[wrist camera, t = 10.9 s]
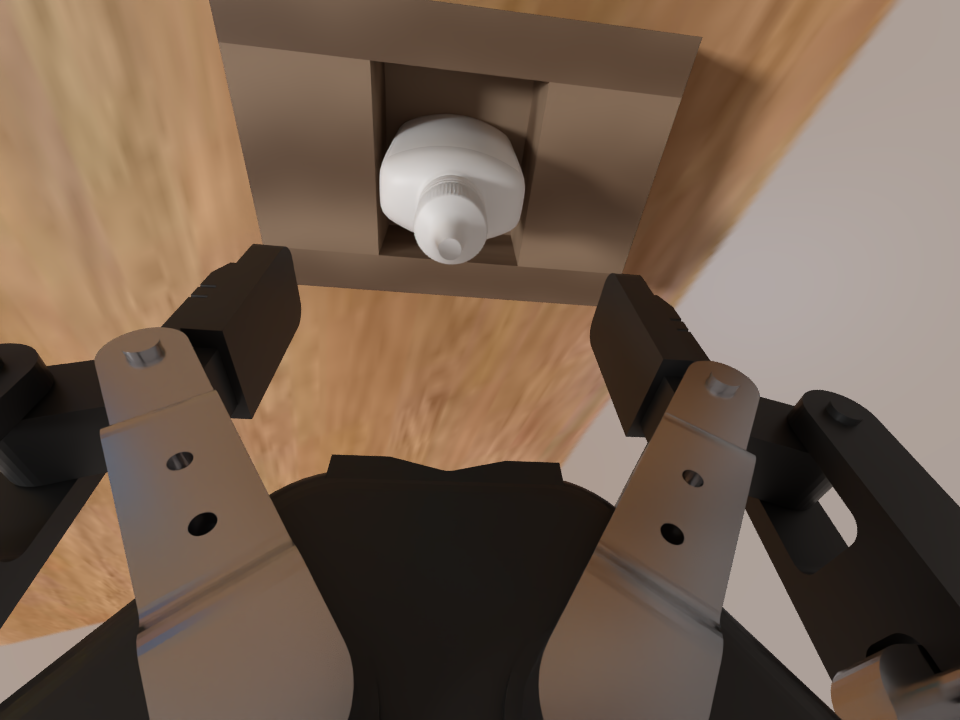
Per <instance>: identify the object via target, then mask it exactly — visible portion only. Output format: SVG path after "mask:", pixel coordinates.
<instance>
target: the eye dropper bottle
mask: <svg viewBox="0 0 960 720" xmlns="http://www.w3.org/2000/svg"><path fill="white" fill-rule="evenodd" d="M524 193H525V183H524V177H523V174H522V170H521V168H520V165H519V162H518V160H517V157H516V154H515V152H514V149H513V147H512V144H511V142H510V140H509V139H508V137H507V136H506V135H505V134H504V133H503V132H501V131H500V130H498V129H496V128H495V127H493V126H491V125H489V124H487V123H485V122H483V121H480V120H478V119H475V118H471V117H467V116H463V115H457V114H433V115H427V116H422V117H418V118H415V119H412V120H409V121H407V122H405V123H404V124H403V125H402V126H401V127H400V128H399V130H398V132H397V134H396V136H395V137H394V139H393V141H392V143H391V145H390V147H389V149H388V151H387V153H386V155H385V157H384V160H383V162H382V165H381V168H380V204H381V208H382V211H383V213H384V214H385V215H386V216H387V217H388V218H389V219H390V220H392V221H393V222H395V223H396V224H398V225H400V226H402V227H403V228H405V229H407V230H409V231H411V232H414V236H415V239H416V240H417V243H418V246H419V247H421V248H420V249H421V250H423V252H424V253H425V255H428V257H430V258H431V259H434V261H437V262H441V263H444V264H449V265H450V264H452V265H453V264H456V265H457V264H461V263H464V262H467V261H468V260H471V258H474V256H476V254H478V253H479V251H481V248H483V245H484V244H485V241H486V239H489V238H493V237H496V236H499V235H502V234H504V233H507V232H509V231H511V230H512V229H513V228H515V227H516V225H517V224H518V222H519V220H520V216H521V211H522V206H523V200H524Z"/></svg>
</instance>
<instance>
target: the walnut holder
mask: <svg viewBox="0 0 960 720" xmlns="http://www.w3.org/2000/svg"><path fill="white" fill-rule="evenodd" d="M209 2H210V6H211V11H212V15H213V20H214V25H215V29H216V34H217V38H218V43H219V47H220V52H221V56H222V61H223V65H224V70H225V74H226V79H227V83H228V88H229V92H230V97H231V102H232V106H233V111H234V115H235V120H236V124H237V129H238V133H239V138H240V142H241V147H242V151H243V156H244V160H245V165H246V169H247V174H248V179H249V183H250V188H251V192H252V197H253V201H254V206H255V210H256V215H257V219H258V224H259V228H260V233H261V237H262V242H263V245H273V246H286V247H288V248H289V250H290V252H291V255H292V259H293V264H294V270H295V275H296V280H297V285H310V286H324V287H338V288H351V289H365V290H379V291H393V292H407V293H421V294H435V295H449V296H463V297H476V298H490V299H504V300H518V301H532V302H546V303H560V304H574V305H587V306H597V305H598V302H599V299H600V296H601V293H602V290H603V287H604V283H605V281H606V279H607V277H608V276H609V274H611V273H616V274H622V272H623V269H624V266H625V263H626V260H627V257H628V254H629V251H630V248H631V245H632V242H633V239H634V236H635V233H636V231H637V228H638V225H639V222H640V219H641V216H642V213H643V210H644V207H645V204H646V201H647V198H648V195H649V192H650V189H651V187H652V184H653V181H654V178H655V175H656V172H657V169H658V166H659V163H660V160H661V157H662V154H663V151H664V148H665V145H666V143H667V140H668V137H669V134H670V131H671V128H672V125H673V122H674V119H675V116H676V113H677V110H678V107H679V104H680V101H681V99H682V96H683V93H684V90H685V87H686V84H687V81H688V78H689V75H690V72H691V69H692V66H693V63H694V60H695V58H696V55H697V52H698V49H699V46H700V43H701V40H702V37H697V36H690V35H683V34H675V33H668V32H660V31H653V30H646V29H638V28H631V27H623V26H616V25H609V24H601V23H594V22H586V21H579V20H572V19H564V18H557V17H550V16H542V15H535V14H527V13H520V12H513V11H505V10H498V9H490V8H483V7H476V6H468V5H461V4H453V3H446V2H439V1H431V0H209ZM433 114H457V115H463V116H467V117H471V118H475V119H478V120H480V121H483V122H485V123H487V124H489V125H491V126H493V127H495V128H496V129H498V130H500V131H501V132H503V133H504V134H505V135H506V136H507V137H508V139H509V140H510V142H511V144H512V147H513V149H514V152H515V154H516V157H517V160H518V162H519V165H520V168H521V170H522V174H523V177H524V183H525V193H524V200H523V206H522V211H521V216H520V220H519V222H518V224H517V225H516V227H515V228H513V229H512V230H511V231H509V232H507V233H504V234H502V235H499V236H496V237H493V238H489V239H486V241H485V244H484V245H483V248H481V251H479V253H478V254H476V256H474V258H471V260H468V261H467V262H464V263H461V264H457V265H456V264H453V265H452V264H450V265H449V264H444V263H441V262H437V261H434V259H431V258H430V257H428V255H425V253H424V252H423V250H421V249H420V248H421V247H419V246H418V243H417V240H416V239H415V236H414V232H411V231H409V230H407V229H405V228H403V227H402V226H400V225H398V224H396V223H395V222H393V221H392V220H390V219H389V218H388V217H387V216H386V215H385V214H384V213H383V211H382V208H381V204H380V168H381V165H382V162H383V160H384V157H385V155H386V153H387V151H388V149H389V147H390V145H391V143H392V141H393V139H394V137H395V136H396V134H397V132H398V130H399V128H400V127H401V126H402V125H403V124H404V123H405V122H407V121H409V120H412V119H415V118H418V117H422V116H427V115H433Z"/></svg>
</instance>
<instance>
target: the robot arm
mask: <svg viewBox="0 0 960 720" xmlns="http://www.w3.org/2000/svg"><path fill="white" fill-rule="evenodd" d="M200 285H201V286H200V287H198V288H197V289H196V290H195V291H194V292H193V293H192V294H191V297H188V298H187V299H186V300H185V302H184V303H183V304H182V305H181V306H180V307H179V308H178V309H177V310H176V311H175V312H174V313H173V315H172V316H171V317H170V318H169V319H168V320H167V321H166V322H165V323H164V324H163V325H162V326H161V327H155V328H146V329H140V330H136V331H132V332H129V333H126V334H124V335H121V336H119V337H117V338H115V339H113V340H111V341H110V342H108V343H107V344H105V345H104V346H103V347H102V348H101V349H100V350H99V351H98V353H97V354H96V356H95V360H90V361H83V362H75V363H68V364H60V365H52V366H46V365H45V363H44V362H43V360H42V359H41V358H40V356H39V355H38V353H37V352H36V350H35V349H33V348H32V347H30V346H27V345H23V344H13V343H9V344H0V629H1V627H2V626H3V624H4V623H5V621H6V620H7V618H8V617H9V615H10V614H11V612H12V611H13V609H14V608H15V606H16V605H17V603H18V602H19V600H20V599H21V598H22V596H23V595H24V593H25V592H26V590H27V589H28V587H29V586H30V584H31V583H32V581H33V580H34V578H35V577H36V575H37V574H38V572H39V571H40V569H41V568H42V566H43V565H44V563H45V562H46V561H47V559H48V558H49V556H50V555H51V553H52V552H53V550H54V549H55V547H56V546H57V544H58V543H59V541H60V540H61V538H62V537H63V535H64V534H65V532H66V531H67V529H68V528H69V526H70V525H71V524H72V522H73V521H74V519H75V518H76V516H77V515H78V513H79V512H80V510H81V509H82V507H83V506H84V504H85V503H86V501H87V500H88V498H89V497H90V495H91V494H92V492H93V491H94V489H95V488H96V487H97V485H98V484H99V482H100V481H101V479H102V478H103V476H104V475H105V473H106V472H108V475H109V480H110V485H111V489H112V494H113V498H114V503H115V508H116V512H117V517H118V522H119V526H120V531H121V535H122V540H123V545H124V549H125V554H126V558H127V563H128V568H129V572H130V577H131V581H132V586H133V591H134V595H135V599H134V600H132V601H131V602H130V603H129V604H127V605H126V606H125V607H123V608H122V609H121V610H120V611H118V612H117V613H116V614H114V615H113V616H112V617H111V618H109V619H108V620H107V621H106V622H104V623H103V624H102V625H100V626H99V627H98V628H97V629H95V630H94V631H93V632H91V633H90V634H89V635H88V636H86V637H85V638H84V639H82V640H81V641H80V642H79V643H77V644H76V645H75V646H74V647H72V648H71V649H70V650H69V651H67V652H66V653H65V654H63V655H62V656H61V657H59V658H58V659H57V660H56V661H54V662H53V663H52V664H51V665H49V666H48V667H47V668H45V669H44V670H43V671H42V672H40V673H39V674H38V675H36V676H35V677H34V678H33V679H31V680H30V681H29V682H27V684H25V685H24V686H22V687H21V688H20V689H19V690H17V691H16V692H15V693H14V694H12V695H11V696H10V697H8V698H7V699H6V700H5V701H3V702H2V703H1V704H0V720H960V507H959V506H958V505H957V504H956V503H955V502H954V500H953V499H952V498H951V497H950V496H949V495H948V494H947V493H946V492H945V491H944V490H943V489H942V488H941V487H940V485H939V484H938V483H937V482H936V481H935V480H934V479H933V478H932V477H931V476H930V475H929V474H928V473H927V472H926V470H925V469H924V468H923V467H922V466H921V465H920V464H919V463H918V462H917V461H916V460H915V459H914V458H913V457H912V455H911V454H910V453H909V452H908V451H907V450H906V449H905V448H904V447H903V446H902V445H901V444H900V443H899V441H898V440H897V439H896V438H895V437H894V436H893V435H892V434H891V433H890V432H889V431H888V430H887V429H886V428H885V426H884V425H883V424H882V423H881V422H880V421H879V420H878V419H877V418H876V417H875V416H874V415H873V414H872V413H871V412H869V411H868V410H867V409H865V408H864V407H862V406H861V405H860V404H858V403H856V402H855V401H852V400H851V399H849V398H846V397H844V396H842V395H839V394H836V393H833V392H829V391H824V390H811V391H808V392H806V393H805V394H804V395H803V396H802V398H801V399H800V400H799V401H798V403H797V404H796V405H795V406H792V405H788V404H785V403H781V402H777V401H774V400H770V399H766V398H762V397H760V394H759V391H758V388H757V387H756V385H755V384H754V383H753V382H752V381H751V380H750V379H749V378H748V377H747V376H745V375H744V374H743V373H741V372H740V371H738V370H736V369H734V368H732V367H730V366H728V365H725V364H722V363H718V362H714V361H710V360H709V358H708V357H707V355H706V354H705V352H704V351H703V349H702V348H701V347H700V345H699V344H698V342H697V341H696V340H695V338H694V337H693V335H692V334H691V332H688V328H687V327H686V325H685V324H684V323H683V322H681V318H680V317H679V315H678V314H677V312H676V311H675V310H674V308H673V307H672V306H671V305H670V304H668V303H667V302H666V301H664V300H663V299H662V298H660V297H659V296H658V295H654V294H653V293H652V291H651V290H650V288H649V287H648V285H647V284H646V282H645V281H644V279H643V278H642V277H641V276H640V275H629V274H616V273H611V274H609V276H608V277H607V279H606V281H605V283H604V287H603V290H602V293H601V296H600V299H599V302H598V305H597V308H596V311H595V314H594V317H593V320H592V324H591V329H590V343H591V347H592V349H593V352H594V355H595V357H596V360H597V362H598V365H599V368H600V370H601V373H602V375H603V378H604V381H605V383H606V386H607V389H608V391H609V394H610V396H611V399H612V402H613V404H614V407H615V409H616V412H617V415H618V417H619V420H620V422H621V425H622V428H623V430H624V433H625V435H626V437H645V438H646V440H647V442H648V443H647V445H646V447H645V449H644V451H643V452H642V454H641V456H640V458H639V460H638V462H637V464H636V466H635V468H634V470H633V472H632V474H631V475H630V478H629V480H628V481H627V483H626V485H625V487H624V489H623V491H622V493H621V495H620V497H619V498H618V501H617V502H616V504H615V506H613V505H612V504H610V503H609V502H608V501H606V500H604V499H603V498H601V497H600V496H598V495H596V494H595V493H593V492H591V491H589V490H587V489H585V488H583V487H580V486H578V485H575V484H573V483H570V482H567V481H563V478H562V474H561V469H560V464H559V463H549V462H522V461H502V462H497V463H492V464H486V465H481V466H476V467H470V468H465V469H460V470H455V471H444V470H439V469H436V468H432V467H428V466H424V465H420V464H416V463H412V462H409V461H405V460H401V459H397V458H393V457H385V456H358V455H332V456H331V460H330V463H329V467H328V470H327V473H322V474H318V475H314V476H311V477H307V478H304V479H301V480H299V481H296V482H294V483H291V484H289V485H287V486H285V487H283V488H281V489H279V490H277V491H275V492H273V493H272V494H270V495H269V494H268V492H267V490H266V488H265V486H264V484H263V482H262V480H261V478H260V476H259V474H258V472H257V470H256V468H255V466H254V464H253V462H252V460H251V458H250V456H249V454H248V452H247V450H246V448H245V446H244V444H243V442H242V440H241V438H240V436H239V434H238V432H237V430H236V428H235V426H234V424H233V422H232V420H231V418H239V419H252V418H253V416H254V414H255V412H256V410H257V408H258V406H259V404H260V402H261V400H262V398H263V396H264V394H265V392H266V390H267V388H268V386H269V384H270V382H271V380H272V378H273V376H274V374H275V372H276V370H277V368H278V366H279V364H280V362H281V360H282V358H283V356H284V354H285V352H286V350H287V348H288V346H289V344H290V342H291V340H292V338H293V336H294V334H295V332H296V330H297V328H298V326H299V323H300V318H301V302H300V297H299V291H298V286H297V280H296V275H295V270H294V264H293V259H292V255H291V252H290V250H289V248H288V247H286V246H273V245H261V244H253V245H252V246H251V247H250V248H249V249H248V250H247V251H246V252H245V253H244V255H243V256H242V257H241V258H240V259H239V260H238V262H237V263H229V264H227V265H225V266H223V267H221V268H219V269H217V270H215V271H213V272H211V273H210V275H209V276H208V277H207V278H206V279H205V280H204V281H203V282H202V283H201V284H200ZM832 487H834V489H835V490H836V491H837V493H838V494H839V496H840V497H841V499H842V500H843V502H844V503H845V504H846V506H847V507H848V509H849V510H850V511H851V513H852V514H853V516H854V518H855V520H856V524H857V537H856V540H855V542H854V543H853V544H852V545H851V546H850V547H848V546H847V544H846V543H845V541H844V540H843V538H842V537H841V535H840V533H839V532H838V531H837V529H836V527H835V526H834V525H833V523H832V521H831V520H830V518H829V517H828V515H827V514H826V512H825V511H824V509H823V508H822V506H821V505H820V503H819V502H818V500H819V499H820V498H821V497H822V496H823V495H824V494H825V493H826V492H827V491H828V490H830V489H831V488H832ZM745 509H746V511H747V513H748V515H749V517H750V519H751V521H752V523H753V525H754V527H755V529H756V531H757V533H758V535H759V537H760V539H761V541H762V543H763V545H764V547H765V549H766V551H767V553H768V555H769V557H770V559H771V561H772V563H773V565H774V567H775V569H776V571H777V573H778V575H779V577H780V579H781V581H782V583H783V585H784V587H785V589H786V591H787V593H788V595H789V597H790V599H791V601H792V603H793V605H794V607H795V609H796V611H797V613H798V615H799V617H800V619H801V621H802V622H803V625H804V627H805V629H806V631H807V633H808V635H809V637H810V639H811V641H812V643H813V644H814V647H815V649H816V650H817V653H818V655H819V657H820V658H821V660H822V663H823V665H824V666H825V668H826V670H827V672H828V674H829V676H830V678H831V680H832V685H831V699H832V703H833V708H834V711H835V712H833V711H832V710H831V709H830V708H829V707H828V706H827V705H826V704H825V703H824V702H823V701H822V700H821V699H819V697H817V696H816V695H815V694H814V693H813V692H812V691H811V690H810V689H809V688H808V687H807V686H806V685H805V684H804V683H803V682H802V681H800V680H799V679H798V678H797V677H796V676H795V675H794V674H793V673H792V672H791V671H790V670H788V668H786V666H784V665H783V664H782V663H781V662H780V661H779V660H778V659H777V658H776V657H775V656H774V655H773V654H772V653H771V652H770V651H769V650H767V649H766V648H765V647H764V646H763V645H762V644H761V643H760V642H759V641H758V640H757V639H756V638H755V637H753V635H752V634H750V633H749V632H748V631H747V630H746V629H745V628H744V627H743V626H742V625H741V624H740V623H739V622H738V621H736V620H735V619H734V618H733V617H732V616H731V615H730V614H729V613H728V612H727V611H726V610H725V609H724V608H723V607H722V606H723V602H724V597H725V593H726V589H727V584H728V580H729V575H730V571H731V567H732V563H733V558H734V554H735V550H736V545H737V541H738V537H739V532H740V528H741V524H742V519H743V515H744V510H745Z"/></svg>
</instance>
